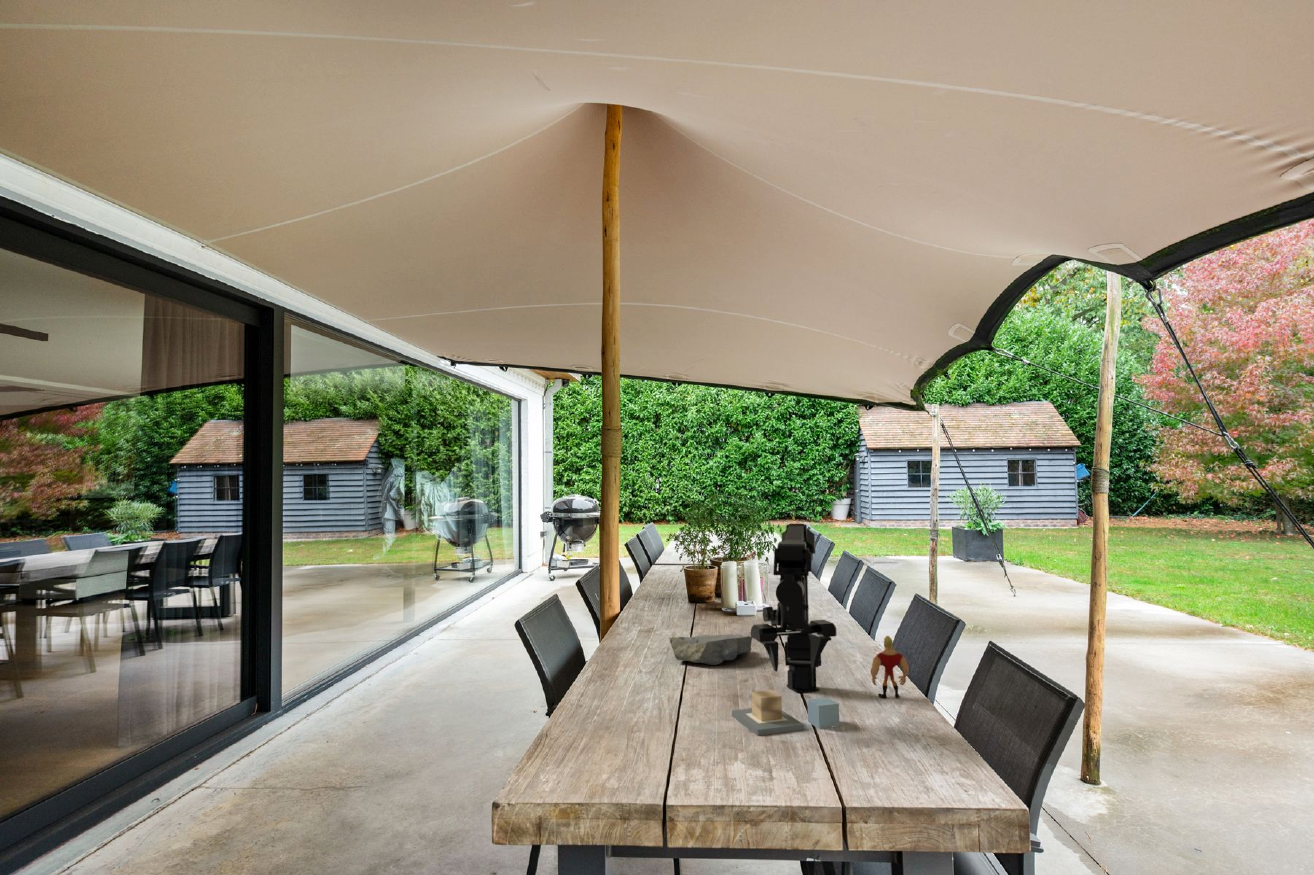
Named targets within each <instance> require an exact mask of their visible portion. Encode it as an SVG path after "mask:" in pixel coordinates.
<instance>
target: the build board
mask: <svg viewBox="0 0 1314 875" xmlns="http://www.w3.org/2000/svg"><path fill="white" fill-rule="evenodd" d="M731 716H732V717H733V718H734V719H735V718H736V719H735V720H737V721H738V722H739V723H740V722H741V725H743V726H744V727H746V728H747V729H748V730H750V731H751V732H752V731H753V732H752V733H753V734H755V735H756V736H764V735H765V736H766V735H773V734H780V733H789V732H791V733H792V732H795V731H796V732H797V731H798V732H799V731H804V730H805V728H804V727H805V726H804V725H805V724H804V723H803V722H801V721H799V720H798V719H796V718H795V717H793V716H792V715H790V714H788V713H787V712H786V711H783V710H782V719H778V720H769V721H760V720H759V719H757V718H756V717H755V716H753V715H752V707H751V708H743V709H742V708H741V709H734V710H731Z"/></svg>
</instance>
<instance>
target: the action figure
mask: <svg viewBox="0 0 1314 875" xmlns="http://www.w3.org/2000/svg"><path fill="white" fill-rule="evenodd" d="M893 647H894V643H893V639H892V638H891V637H890V636H889V635H886V636H885V637H884V638H883V648H884V650H882V651H881V652H878V654H876V656H875V657H874V658H873V659H872V663H871V669H870V675H871V677H872V679H871V681H872V684H873V685H874V686H876V687H877V686H878V685H877V683H876V680H877V679H878V678H877V675H878V674H879V670H880V666H882V667H884V678H883V679H884V680H883V683H882V693H878V694H877V696H878V697H879V698H883V699H887V698H888V696H887V690H888V680H889V678H890V680H891V683H892V688H893V689H894V698H896V699H898V698H900V694H899V686H898V683H897V682H896V681H895V677H894V676H895V675H894V668H895V667H896V666H900V669H901V671H902V675H899V676H898V677H897V678H898V679H899V681H898V682H899V685H900V686H904V685H906V683H907V676H908V675H909V670H910V669H909V665H908V662H907V659H906V658H905V656H904V655H903V654H901V653H900V652H897V651H896V650H895V649H894V648H893Z"/></svg>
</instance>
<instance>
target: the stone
mask: <svg viewBox="0 0 1314 875" xmlns="http://www.w3.org/2000/svg"><path fill="white" fill-rule="evenodd" d="M668 639H669V643H670V646H671V649H672V652H673V654H674V655H673V656H674V657H675V659H676V660H677V661H680V662H681V661H687V662H688V661H689V662H691V663H701V664H705V665H708V666H711V665H712V666H717V665H719V664H722V663H723V662H724V661H733V660H735V659H736V658H737V656H739V655H743V654H749V653H751V651H752V641H753V638H752V637H751V635H745V636H743V635H742V634H739V633H734V634H715V635H713V634H711V635H710V634H701V635H695V636H677V637H673V636H672V637H669V638H668Z"/></svg>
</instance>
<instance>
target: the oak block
mask: <svg viewBox="0 0 1314 875" xmlns="http://www.w3.org/2000/svg"><path fill="white" fill-rule="evenodd" d="M782 698H783V697H782V695H781V694H779V693H777V692H776V691H774V690H772V689H770V690H769V689H768V690H761V691H752V692H751V708H752V715H753V716H755V717H756V718H757V719H759V720H760V721H769V720H778V719H782V711H783V704H782V703H783V701H782V700H783V699H782Z"/></svg>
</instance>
